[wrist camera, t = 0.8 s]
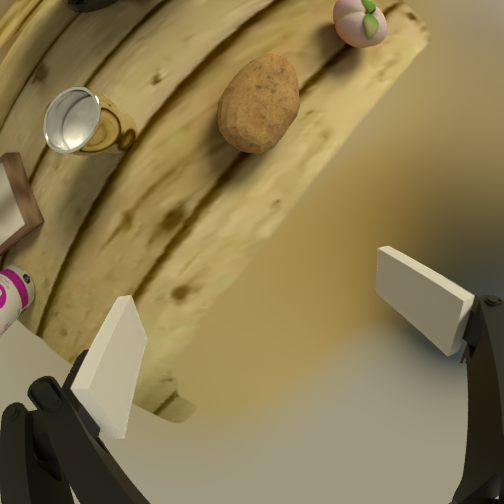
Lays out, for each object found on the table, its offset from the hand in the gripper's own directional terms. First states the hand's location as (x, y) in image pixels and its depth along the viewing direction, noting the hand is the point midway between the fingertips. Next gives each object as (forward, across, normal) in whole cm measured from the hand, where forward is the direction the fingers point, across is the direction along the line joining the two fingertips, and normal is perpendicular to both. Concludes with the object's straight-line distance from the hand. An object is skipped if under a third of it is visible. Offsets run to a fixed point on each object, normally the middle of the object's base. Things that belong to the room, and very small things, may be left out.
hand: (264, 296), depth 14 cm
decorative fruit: (+27, +23, +27) cm, 45 cm away
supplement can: (+27, -40, -5) cm, 48 cm away
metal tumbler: (+27, -14, +14) cm, 33 cm away
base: (+27, -37, +9) cm, 47 cm away
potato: (+27, +6, +14) cm, 31 cm away
